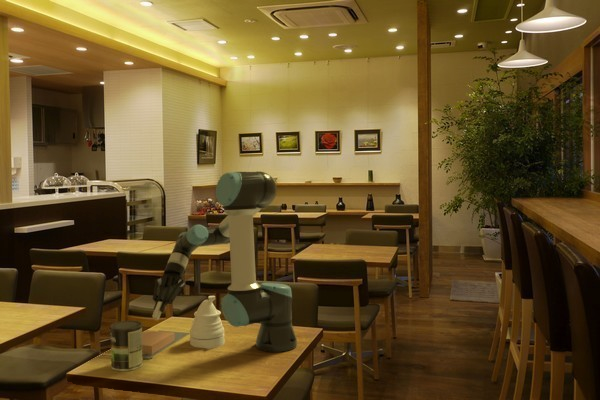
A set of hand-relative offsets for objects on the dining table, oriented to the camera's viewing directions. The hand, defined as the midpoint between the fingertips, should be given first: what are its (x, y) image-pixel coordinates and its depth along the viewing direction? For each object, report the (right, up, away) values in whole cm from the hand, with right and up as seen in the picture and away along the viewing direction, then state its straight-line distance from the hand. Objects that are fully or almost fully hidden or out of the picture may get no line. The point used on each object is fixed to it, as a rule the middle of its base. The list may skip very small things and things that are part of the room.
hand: (155, 318), depth 210 cm
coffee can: (-4, -11, -22) cm, 25 cm away
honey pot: (+19, -10, +1) cm, 22 cm away
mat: (0, -10, 0) cm, 10 cm away
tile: (+1, -7, +4) cm, 8 cm away
